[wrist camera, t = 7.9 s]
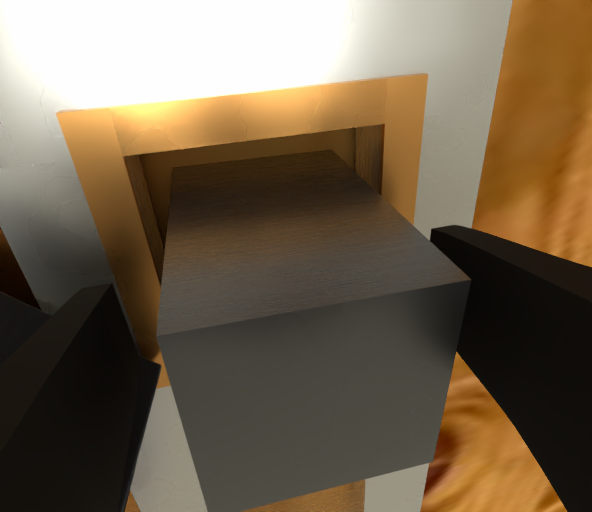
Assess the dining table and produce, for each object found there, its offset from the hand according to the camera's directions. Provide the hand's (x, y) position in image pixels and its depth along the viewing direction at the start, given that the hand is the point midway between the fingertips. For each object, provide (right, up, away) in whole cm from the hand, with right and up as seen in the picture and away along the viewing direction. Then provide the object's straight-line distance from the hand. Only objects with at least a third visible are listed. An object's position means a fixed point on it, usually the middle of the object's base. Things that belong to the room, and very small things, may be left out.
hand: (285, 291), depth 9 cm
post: (-1, +2, +3) cm, 4 cm away
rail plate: (0, -3, +6) cm, 7 cm away
